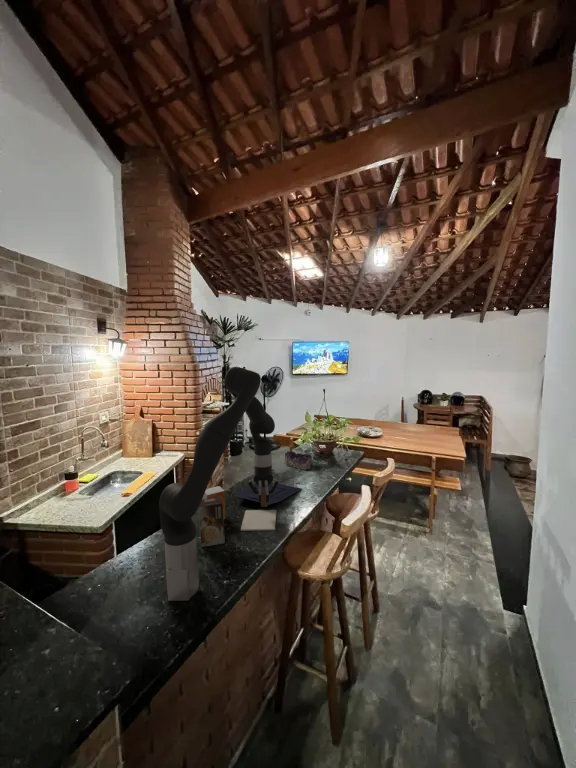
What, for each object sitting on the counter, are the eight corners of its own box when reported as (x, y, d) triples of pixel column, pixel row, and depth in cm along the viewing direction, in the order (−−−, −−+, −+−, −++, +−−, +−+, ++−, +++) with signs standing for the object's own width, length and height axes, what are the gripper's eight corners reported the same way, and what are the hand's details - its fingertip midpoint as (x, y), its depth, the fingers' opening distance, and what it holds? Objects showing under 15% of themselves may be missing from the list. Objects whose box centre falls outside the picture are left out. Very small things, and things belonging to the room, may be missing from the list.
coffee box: (223, 534, 132) (222, 496, 130) (225, 543, 125) (223, 503, 124) (200, 538, 129) (198, 499, 127) (200, 547, 123) (198, 506, 121)
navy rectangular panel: (230, 500, 159) (230, 493, 159) (263, 485, 185) (264, 478, 185) (272, 511, 147) (273, 503, 147) (302, 493, 173) (302, 486, 173)
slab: (267, 492, 146) (265, 491, 139) (267, 506, 144) (265, 506, 137) (262, 492, 146) (261, 491, 139) (262, 506, 144) (261, 506, 137)
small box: (208, 524, 139) (206, 495, 138) (203, 518, 145) (201, 489, 143) (225, 518, 144) (224, 490, 142) (220, 513, 149) (219, 485, 148)
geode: (279, 466, 207) (279, 450, 208) (288, 463, 217) (288, 448, 218) (307, 471, 197) (307, 454, 197) (316, 467, 207) (316, 451, 207)
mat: (274, 530, 134) (274, 528, 134) (240, 530, 134) (240, 529, 134) (276, 511, 150) (276, 509, 150) (245, 511, 150) (245, 510, 150)
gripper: (279, 460, 143) (280, 498, 145) (248, 460, 143) (249, 498, 145) (278, 466, 136) (279, 506, 138) (245, 466, 136) (247, 506, 138)
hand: (264, 502), depth 141 cm, fingers closed on slab, 1 cm apart
